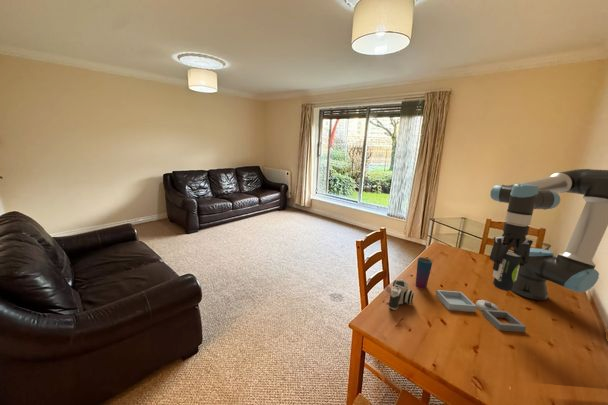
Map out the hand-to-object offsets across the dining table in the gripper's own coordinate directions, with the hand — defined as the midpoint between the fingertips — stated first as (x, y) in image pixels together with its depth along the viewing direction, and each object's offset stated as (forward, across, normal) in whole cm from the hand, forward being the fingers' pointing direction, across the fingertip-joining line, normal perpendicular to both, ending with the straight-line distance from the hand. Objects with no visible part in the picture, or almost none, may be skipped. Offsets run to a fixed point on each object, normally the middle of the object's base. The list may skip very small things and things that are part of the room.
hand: (504, 278), depth 100 cm
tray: (+19, +11, -11) cm, 24 cm away
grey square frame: (+19, -2, +2) cm, 19 cm away
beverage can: (+4, 0, 0) cm, 4 cm away
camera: (+19, +37, -8) cm, 42 cm away
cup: (+19, +20, -24) cm, 37 cm away
